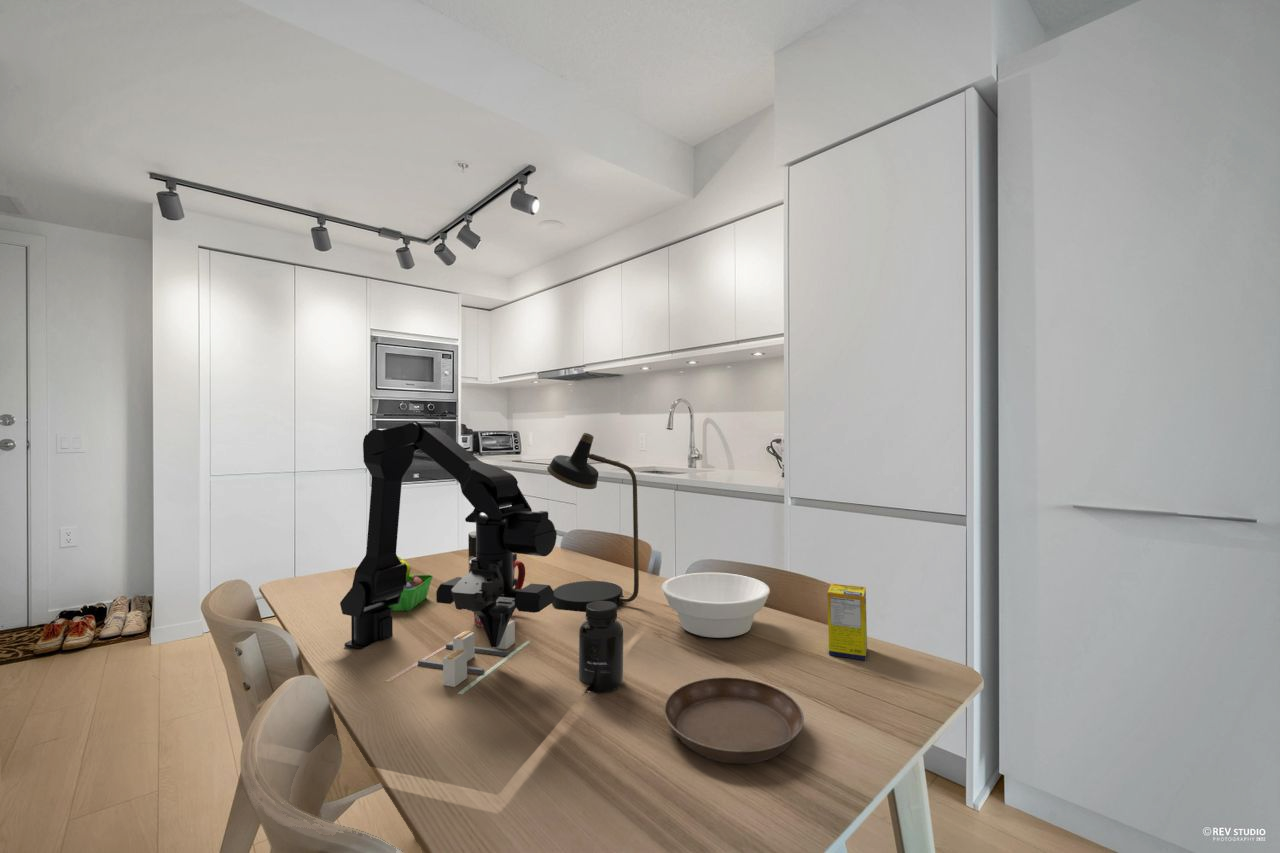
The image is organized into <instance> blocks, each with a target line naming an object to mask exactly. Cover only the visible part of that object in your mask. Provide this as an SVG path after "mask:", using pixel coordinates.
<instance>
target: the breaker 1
mask: <svg viewBox="0 0 1280 853" xmlns="http://www.w3.org/2000/svg"><path fill="white" fill-rule="evenodd" d="M442 663H443V669H442V670H443V671H442V673H443V674H442V682H443V684H442V685H443V686H446V687H453V688H455V687H456V686H458V685H460V684H461V683H462V682H464V681H465V680H466V679H468V672H467V666H468V661H467V652H466V651H463V650H460V649H459V650H455V651H454V652H453V651H452V652H450V653H449V654H447V655H446V656H444V657H443V658H442Z"/></svg>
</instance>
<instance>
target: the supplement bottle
mask: <svg viewBox="0 0 1280 853" xmlns="http://www.w3.org/2000/svg"><path fill="white" fill-rule="evenodd" d="M617 619H618V606H617V605H616V604H615V603H613V602H609V601H596V602H592V603H589V604H587V605H586V612H585V621H584V622H582V623H581V625H580V627H579V631H578V632H579V633H578V680H579V681H580V682H581V683H583V684H585V685H587V686H588V687H587V688H586V690H585V691H587V692H589V693H595V694H596V693H597V694H602V693H610V692H613V691H615V690H617V689H619V688H620V687H621V685H622V683H623V681H624V628H623V625H622V624H621V623H620V621H618V620H617Z"/></svg>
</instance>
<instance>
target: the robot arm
mask: <svg viewBox="0 0 1280 853" xmlns="http://www.w3.org/2000/svg"><path fill="white" fill-rule="evenodd" d="M417 451H422V453H424V454H425V455H426V456H428V457H429V458H430V459H431V460H432V461H433V462H435V463H436V464H437V465H439V466H440V467H441V468H442V469H443V470H444V471H446V472H447V473H448V474H449V475H450V476H451V477H452V478H453V479H455V480H456V481H457V482H458V484H459V486H460V490H461V493H462V495H463V496H464V498H466V500H467V501H468V502H469V503H470V504H471V506H472V507H473V508H474V509H473V511H471V513H470V514H468V515H467V516H466V517H465V519H464V520H465V522H466V523H475V531H476V558H475V559H472V560H471V564H470V571H469V570H468V573H467V574H465V575H464V576H463V577H460V576H457V577H454V578H451V579H450V580H447V581H445V582H443V583H440V584H439V586H438V587H437V589H436V590H435V596H436V597H435V600H436V603H439V604H447V605H451V604H453V603H454V606H455V609H456V610H459V611H462V610H467V611H470V612H472V613H473V614H474V613H475V614H476V615H478V617H479V618H480V620H481V622H482V625H483V627H482V628H483V629H484V632H485V634H486V637H487V639H488V642H489V646H490V648H491V649H494V648H495V649H497V648H496V647H498V646H499V644H500V642H501V639H502V637H503V634H504V632H505V630H506V627H507V625H508V622H509V620H510V618H511V616H512V614H513V615H514V612H515V611H516V610H518V612H525V613H532V614H534V613H540V612H541V611H542V610H544V609H545V608H547V607H549V605H552V603H553V602H554V591H553V590H554V589H553V588H552V586H551V585H550V584H540V583H530V584H528V585H526V586H524V587H522V589H513V586H514V587H515V585H517V579H518V577H517V578H515V577H514V578H513V561H515V560H516V561H518V560H517V559H518V557H517V556H518V555H525V556H526V555H529V556H535V557H536V556H537V557H547V556H549V555H550V554H551V553H552V552H553V550H554V548H555V546H556V542H557V535H558V534H557V530H556V527H555V524H554V523H553V521H552V520H551V519H549V512H548V510H547V511H545V510H540V511H533V509H532V508H531V506H530V504H529V502H528V500H527V499H526V498H525V496H524V494H523V492H522V491H521V489H520V487H519V486H518V485H519V484H518V483H519V482H518V480H517V478H516V477H515V475H513V474H512V473H511V472H508V471H506V470H504V469H503V468H501V467H499V466H495V465H493V464H489V463H486V462H483V461H482V460H479V459H478V458H477V457H476V456H475V455H474V454H472V453H471V452H470V451H469V450H467V449H466V448H465V447H464V446H462V445H461V444H460V443H458V442H457V441H456V440H454V439H453V438H452V437H450V436H449V435H448V434H447V433H446V432H444V431H443V430H442V429H441V428H440V425H439V424H437V423H435V422H433V421H411V422H409V423H407V424H403V425H399V426H395V427H391V428H372V429H371V430H370V431H368V433H367V434H365V435H364V438H363V441H362V452H363V453H362V454H363V463H364V465H365V467H366V469H367V470H368V472H369V474H370V475H371V488H370V489H371V490H370V499H369V511H368V512H369V513H368V528H367V540H366V551H365V552H366V553H365V556H364V557H363V559H362V560H361V562H360V563H359V565H358V566H357V568H356V569H355V572H354V574H353V575H354V577H353V581H352V584H351V585H352V586H351V587H350V589H349V591H347V593H346V594H345V596H344V597H343V598H342V599H341V600H340V603H339V605H340V609H341V613H342V615H343V616H345V615H346V616H351V622H350V623H351V624H350V625H351V626H350V627H351V632H350V634H351V636H350V637H351V638H350V639H351V640H348V641H346V642H344V647H347V648H354V649H362V650H363V649H365V648H367V647H369V646H371V645H373V644H375V643H377V642H383V641H385V640H387V639H390V638H391V637H392V636H393V627H394V626H393V625H394V624H393V616H392V610H391V607H389V606H391V605H394V604H398V603H399V600H400V597H401V593H402V592H403V589H404V586H405V585H407V582H406V573H407V565H406V564H402V563H401V562H400V560H399V558H398V557H399V556H398V555H397V546H398V536H399V535H398V532H399V520H400V507H401V496H402V484H403V478H404V476H405V474H406V473H407V471H408V469H409V468H410V466H411V465H412V463H413V460H414V456H415V452H417ZM397 556H398V557H397ZM503 594H504V595H503Z"/></svg>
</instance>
